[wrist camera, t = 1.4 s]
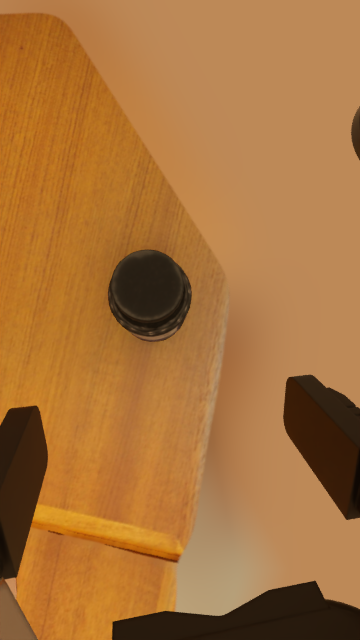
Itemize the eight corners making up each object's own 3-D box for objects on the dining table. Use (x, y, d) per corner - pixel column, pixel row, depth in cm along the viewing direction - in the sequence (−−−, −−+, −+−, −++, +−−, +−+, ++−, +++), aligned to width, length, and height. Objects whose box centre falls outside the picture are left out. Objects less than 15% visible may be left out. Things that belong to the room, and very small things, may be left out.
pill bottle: (143, 267, 33) (132, 220, 22) (197, 299, 33) (213, 268, 22) (108, 321, 33) (80, 299, 22) (164, 355, 32) (163, 350, 21)
